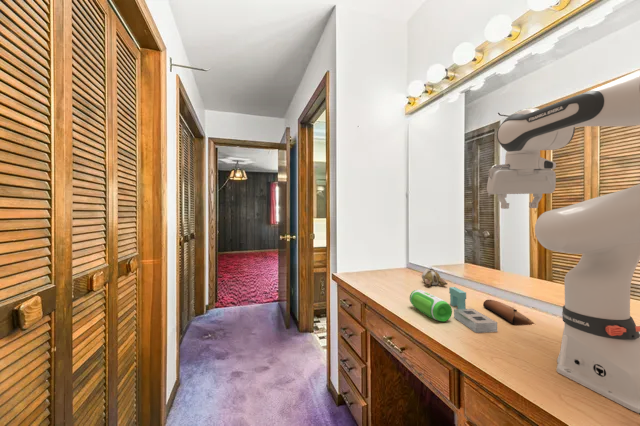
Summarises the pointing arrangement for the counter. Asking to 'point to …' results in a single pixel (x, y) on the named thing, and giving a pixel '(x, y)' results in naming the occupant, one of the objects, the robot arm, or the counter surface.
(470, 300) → the counter surface
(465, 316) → the grey slotted block
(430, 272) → the ceramic sculpture
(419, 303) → the speaker
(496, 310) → the brown tapered cylinder
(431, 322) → the counter surface
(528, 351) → the counter surface
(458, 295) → the clip
